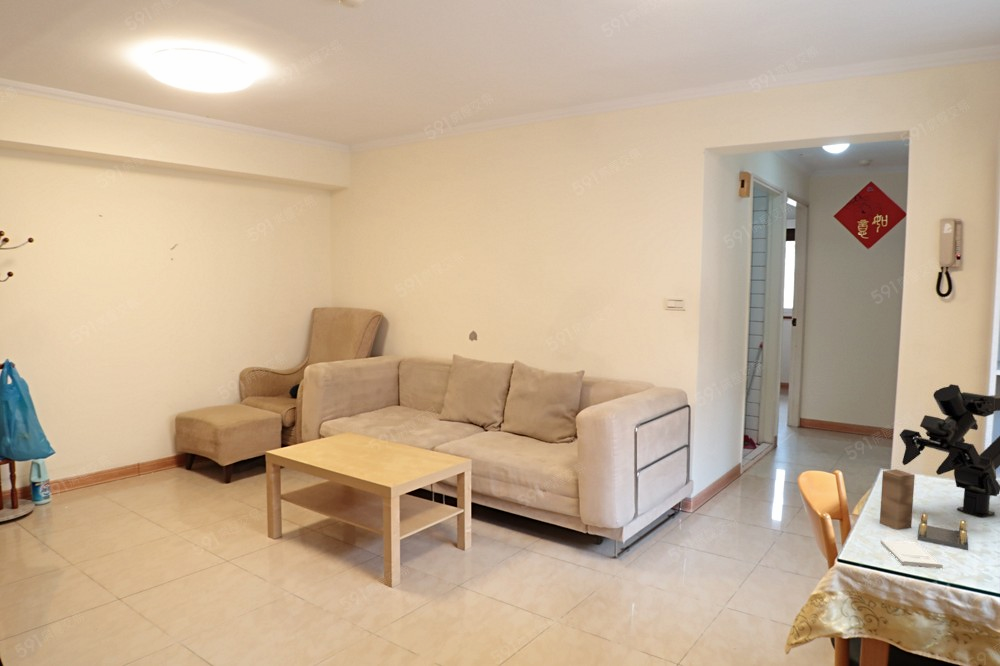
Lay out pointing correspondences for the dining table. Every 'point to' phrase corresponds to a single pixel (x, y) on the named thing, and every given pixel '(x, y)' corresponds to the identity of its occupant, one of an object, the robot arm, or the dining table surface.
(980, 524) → the dining table surface
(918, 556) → the external hard drive
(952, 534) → the plate
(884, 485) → the walnut post
